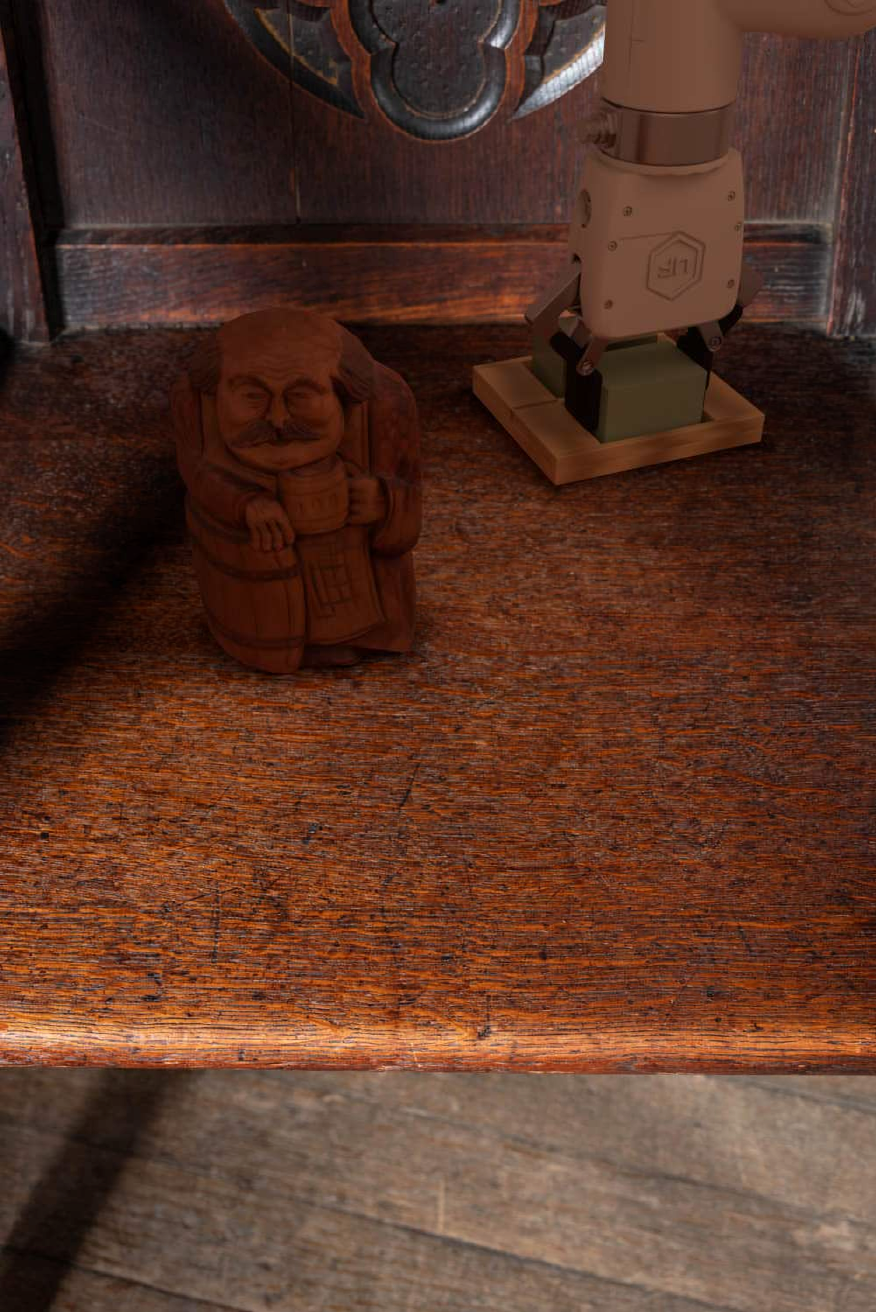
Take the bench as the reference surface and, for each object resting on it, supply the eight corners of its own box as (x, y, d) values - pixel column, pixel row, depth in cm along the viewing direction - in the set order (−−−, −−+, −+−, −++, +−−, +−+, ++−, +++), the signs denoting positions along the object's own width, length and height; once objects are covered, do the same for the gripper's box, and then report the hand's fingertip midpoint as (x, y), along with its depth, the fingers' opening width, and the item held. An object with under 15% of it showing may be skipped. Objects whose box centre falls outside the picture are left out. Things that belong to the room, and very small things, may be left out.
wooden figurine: (202, 684, 64) (147, 358, 53) (203, 610, 69) (153, 298, 58) (430, 662, 66) (424, 339, 54) (415, 591, 71) (407, 281, 59)
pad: (662, 394, 86) (668, 340, 83) (699, 428, 82) (707, 371, 80) (569, 413, 84) (573, 357, 81) (603, 447, 80) (608, 390, 78)
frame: (659, 356, 93) (666, 291, 90) (760, 441, 83) (772, 372, 80) (472, 391, 89) (472, 325, 86) (555, 486, 79) (559, 414, 76)
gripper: (553, 168, 66) (538, 463, 77) (832, 130, 71) (780, 413, 82) (497, 128, 72) (491, 409, 83) (760, 96, 76) (721, 366, 88)
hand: (635, 409), depth 82 cm, fingers closed on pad, 7 cm apart
